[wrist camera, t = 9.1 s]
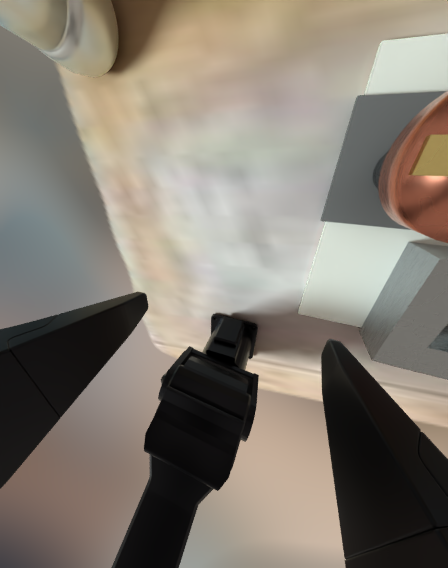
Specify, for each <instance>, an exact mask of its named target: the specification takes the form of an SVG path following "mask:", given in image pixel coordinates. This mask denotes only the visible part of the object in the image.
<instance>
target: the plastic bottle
mask: <svg viewBox="0 0 448 568" xmlns="http://www.w3.org/2000/svg"><path fill="white" fill-rule="evenodd" d="M0 25H1V26H2V27H4V28H6V29H7V30H9V31H11V32H12V33H14V34H15V35H17V36H19V37H21V38H22V39H24V40H25V41H27V42H29V43H31V44H32V45H34V46H35V47H36V48H37V49H38V50H40V51H41V52H42V53H44V54H45V55H46V56H48V57H49V58H50V59H52V60H54V61H55V62H57V63H58V64H60V65H61V66H63V67H64V68H66V69H68V70H69V71H71V72H73V73H76V74H80V75H84V76H88V77H93V78H95V77H100V76H102V75H104V74H105V73H106V72H108V71H109V70H110V69H111V68H112V66H113V64H114V62H115V60H116V56H117V52H118V40H119V36H118V25H117V20H116V15H115V12H114V8H113V5H112V2H111V0H0Z"/></svg>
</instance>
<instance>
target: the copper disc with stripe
mask: <svg viewBox="0 0 448 568" xmlns="http://www.w3.org/2000/svg"><path fill="white" fill-rule="evenodd" d="M373 183H374V185H375V186H376V188H377V189H378V192H379V198H380V202H381V205H382V207H383V209H384V211H385V212H386V213H387V215H388V216H389V217H390V218H391V219H392V220H394V221H395V222H397V223H398V224H400V225H402V226H404V227H406V228H409V229H411V230H413V231H416V232H418V233H421V234H423V235H425V236H428V237H430V238H432V239H435V240H438V241H441V242H444V243H448V91H447V92H445V93H443V94H442V95H441V96H439V97H438V98H436V99H435V100H434V101H432V102H431V103H430V104H429V105H427V106H426V107H425V108H424V109H423V110H421V111H420V112H419V113H418V114H417V115H416V116H415V117H414V118H413V119H412V120H411V121H410V122H409V123H408V124H407V126H406V127H405V128H404V129H403V130H402V131H401V133H400V134H399V135H398V137H397V138H396V140H395V141H394V143H393V144H392V146H391V148H390V149H389V151H388V152H387V153H385V154H384V155H383V156H382V157H381V158H380V160H379V161H378V162H377V164H376V166H375V168H374V171H373Z"/></svg>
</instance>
